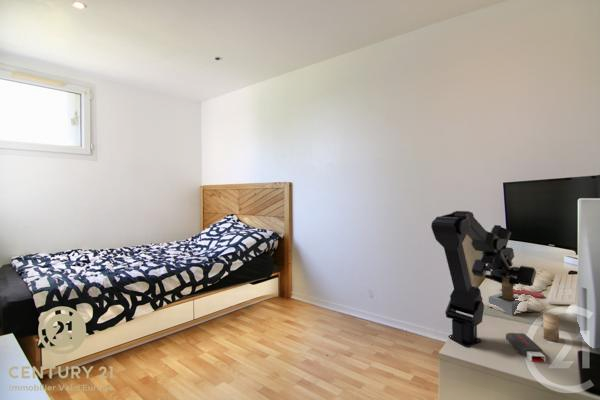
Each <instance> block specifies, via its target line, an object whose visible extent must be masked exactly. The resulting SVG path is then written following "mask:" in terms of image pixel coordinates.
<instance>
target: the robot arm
mask: <svg viewBox="0 0 600 400" xmlns="http://www.w3.org/2000/svg"><path fill="white" fill-rule="evenodd" d="M431 230H432V234H433V236H434V238H435V240H436V242H438V243H439V245H441V247H442V248H443V249H444V255H445V258H446V259H445V260H446V262H447V266H448V269H449V270H448V271H449V274H450V278H451V279H450V280H451V282H452V286H453V290H452V292H451V294H450V295H449V298H450V299H449V302H448V305H447V307H446V310H445V312H444V313H445V317H446V318H447V319H451V325H452V326H451V328H452V329H451V330H452V331H451V333H452V334H449V335H448V336H447V337H448V338H449V337H450V336H451V337H450V338H451V340H452V341H454V342H456V343H458V344H460V345H461V344H462V345H461V346H463V345H464V346H463V347H465V346H467V347H470V346H473V345H476V344H479V343H481V342H482V340H481V339H480V338H478V329H477V328H478V325H480V324H481V323H482V322H483V318H484V317H483V316H484V310H485V304H484V302H483V297H482V292H481V289H480V287H476V286H472V282H471V276H470V273H469V269H468V267H469V266H468V264H467V260H466V255H465V251H464V250H465V249H464V247H463V242H464V241H465V238H466V237H467V236H468V237H469V238H470V240H471V243H470V244H471V246H472V248H473V249H474V250H475V251H476V252H477V251H478V252H481V255H482V256H481V259H479V258H476V259H475V260H474V261H473V264H472V267H471V272H472V275H473V276H476V277H482V278H483V277H484V278H485V279H488V280H490V281H494V282H497V283H499V284H500V285H502V277H504V278H507V277H510V280H509V283H510V284H511V285H513V287H516V285H523V286H527V287H531V286H533V285H534V282H535V278H536V275H537V271H536V269H535V268H534V267H533V266H525V265H519V266H513V264H514V263H513V262H512V261H513V259H514V258H515V253H514V249H513V248H512V247H509V246H508V242H509V240H510V237H511V234H512V232H511V231H510V230H509V229H507V228H506V227H502V225H498V224H494V226H493V227H492V228H491V231H487V230H486V229H485V227H483V226H482V224H481V223H480V222H479V221H478V220H477V219H476V218H475V215H474V213H473V212H471V211H469V210H455V211H453V212H451V213H448V214H444V215H441V216H436V217H435V219H434V220H432V222H431ZM507 246H508V247H507ZM510 267H512V268H510ZM450 338H449V339H450Z"/></svg>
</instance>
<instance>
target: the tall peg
mask: <svg viewBox="0 0 600 400" xmlns="http://www.w3.org/2000/svg"><path fill="white" fill-rule="evenodd" d="M512 267H513V266H510V268H512ZM509 280H510V277H507V278H504V277H502V284H501V289H502V290H501V293H502V299H503V300H506V301H509V302H511V301H514V297H513V295H514V294H513V289H514V286H513V285H511V284H510V283H509Z"/></svg>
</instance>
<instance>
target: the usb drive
mask: <svg viewBox="0 0 600 400" xmlns="http://www.w3.org/2000/svg"><path fill="white" fill-rule="evenodd" d="M505 340H506V341H508V342H509V344H510V345H511V346H512V347H513V348H514V349H515V350H516V351H517V353H518V354H519V355H521V356H523V357H524V358H527V359H528V360H529V361H530V362H539V363H546V355H544V353H543V349H542V348H541V347H540V346H539V345H538V344H537V343H536V342H534V341H533V340H532V339H531V338H530V337H529V336H528V335H527V334H525V333H520V332H518V333H517V332H508V333H506V334H505Z"/></svg>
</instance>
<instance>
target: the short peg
mask: <svg viewBox="0 0 600 400" xmlns="http://www.w3.org/2000/svg"><path fill="white" fill-rule="evenodd" d="M542 319H543V320H542V323H543V339H544V340H546V341H547V342H553V343H557V342H560V330H559V329H560V324H559V316H558V315H557V314H554V313H551V312H550V313H548V312H545V313H542Z"/></svg>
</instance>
